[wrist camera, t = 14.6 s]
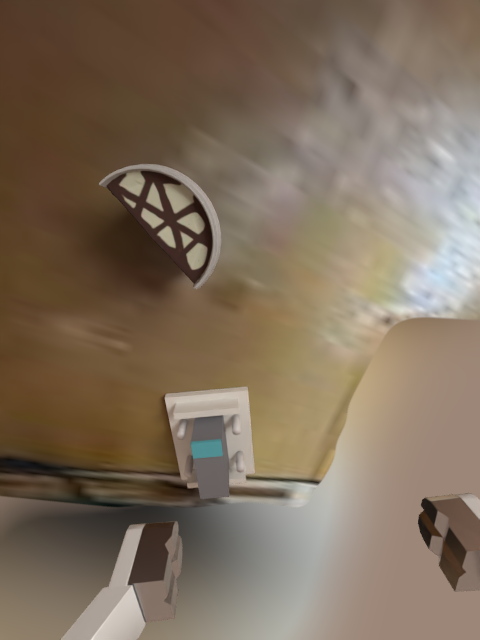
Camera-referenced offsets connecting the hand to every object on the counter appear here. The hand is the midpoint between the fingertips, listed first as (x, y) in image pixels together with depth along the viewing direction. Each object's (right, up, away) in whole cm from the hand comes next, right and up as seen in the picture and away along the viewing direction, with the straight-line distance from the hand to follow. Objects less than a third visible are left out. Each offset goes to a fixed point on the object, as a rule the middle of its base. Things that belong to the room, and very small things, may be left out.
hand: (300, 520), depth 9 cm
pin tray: (-6, -11, +35) cm, 37 cm away
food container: (-8, +19, +24) cm, 32 cm away
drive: (-6, -11, +34) cm, 36 cm away
